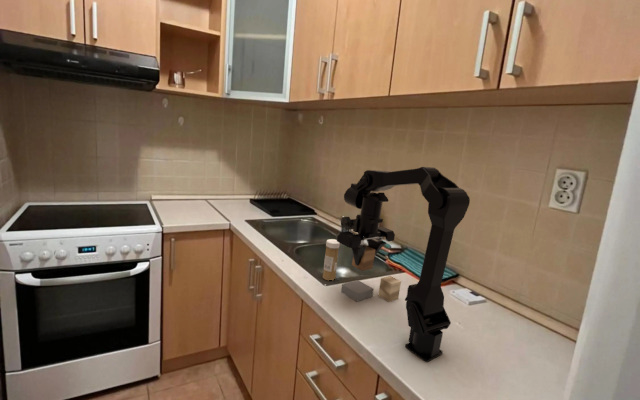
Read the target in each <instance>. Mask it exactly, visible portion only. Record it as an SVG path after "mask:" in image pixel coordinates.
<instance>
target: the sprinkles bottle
mask: <svg viewBox="0 0 640 400" xmlns="http://www.w3.org/2000/svg"><path fill="white" fill-rule="evenodd" d="M340 244H341V243H339V242H337V239H334V238H331V239H327V240H326V241H325V254H324V261H323V262H324V263H323V274H322V279H323V280H325V281H329V280H332V281H335V280H336V278H337V277H336V275H337V269H338V267H337V266H338V259H339V258H338V256H339V250H340ZM334 279H335V280H334Z"/></svg>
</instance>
